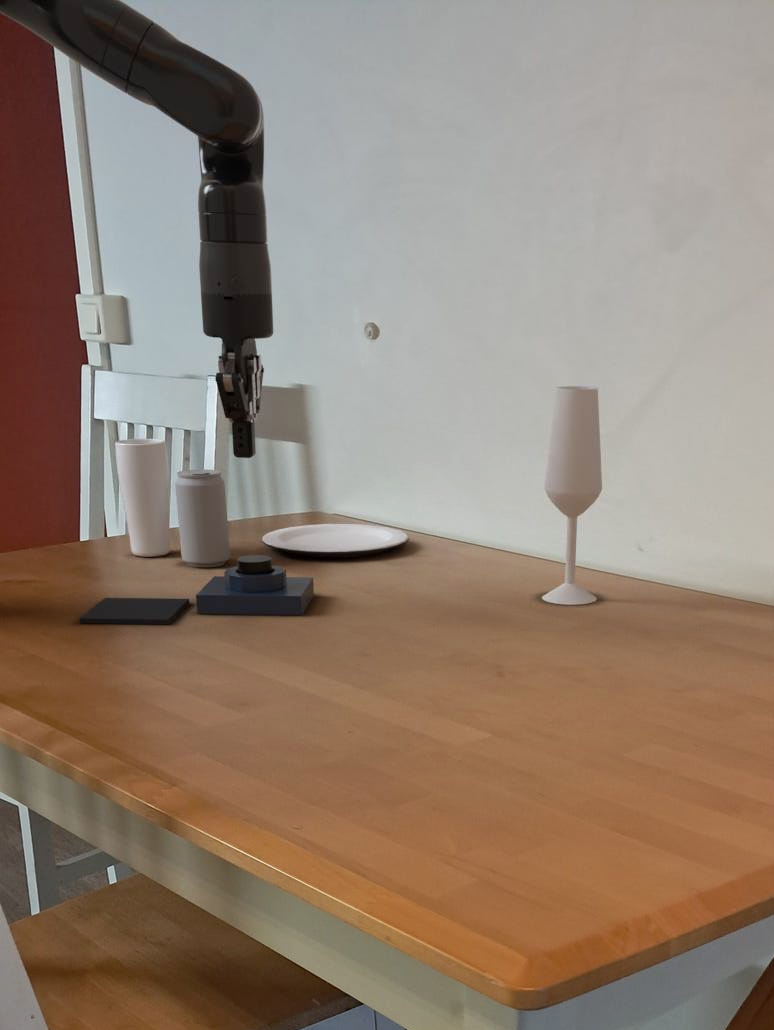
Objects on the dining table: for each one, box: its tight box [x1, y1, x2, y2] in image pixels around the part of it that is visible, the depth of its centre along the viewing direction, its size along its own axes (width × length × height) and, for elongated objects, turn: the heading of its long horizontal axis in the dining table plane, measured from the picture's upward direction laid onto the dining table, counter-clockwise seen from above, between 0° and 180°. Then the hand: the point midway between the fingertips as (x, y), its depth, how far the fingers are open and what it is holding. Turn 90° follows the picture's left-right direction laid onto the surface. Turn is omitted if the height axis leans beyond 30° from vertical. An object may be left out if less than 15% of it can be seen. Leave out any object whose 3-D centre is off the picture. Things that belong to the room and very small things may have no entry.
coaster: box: [78, 597, 190, 625], centre depth 146 cm, size 10×10×1 cm
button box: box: [195, 564, 315, 616], centre depth 149 cm, size 12×10×4 cm
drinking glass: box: [114, 438, 171, 558], centre depth 174 cm, size 7×7×15 cm
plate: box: [261, 523, 410, 559], centre depth 181 cm, size 21×21×2 cm
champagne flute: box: [541, 385, 603, 606], centre depth 149 cm, size 7×7×24 cm
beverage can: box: [174, 469, 231, 568], centre depth 169 cm, size 6×6×12 cm
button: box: [236, 555, 273, 575], centre depth 148 cm, size 4×4×2 cm
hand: (244, 456), depth 144 cm, fingers closed
